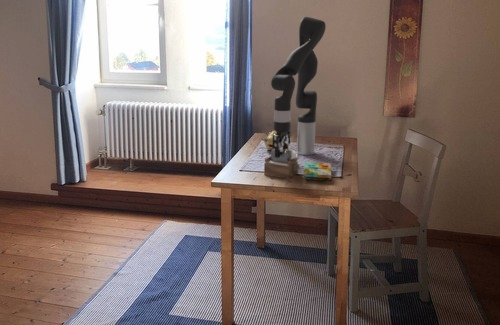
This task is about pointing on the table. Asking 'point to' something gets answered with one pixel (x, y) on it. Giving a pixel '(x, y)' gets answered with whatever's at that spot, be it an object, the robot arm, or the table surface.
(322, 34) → the robot arm
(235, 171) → the table surface
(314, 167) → the puzzle game
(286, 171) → the stand
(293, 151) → the cylinder with rectangular tab
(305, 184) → the table surface
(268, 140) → the tan toy hamster
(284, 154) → the block
